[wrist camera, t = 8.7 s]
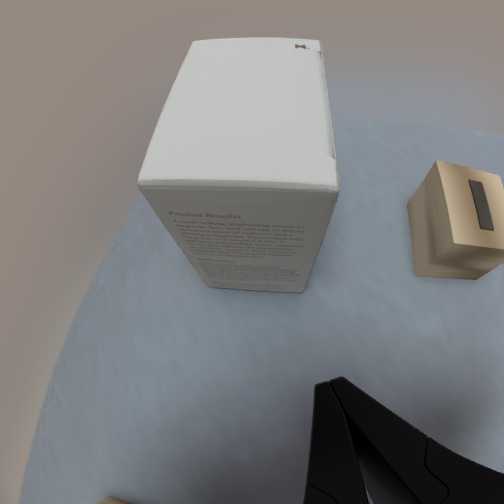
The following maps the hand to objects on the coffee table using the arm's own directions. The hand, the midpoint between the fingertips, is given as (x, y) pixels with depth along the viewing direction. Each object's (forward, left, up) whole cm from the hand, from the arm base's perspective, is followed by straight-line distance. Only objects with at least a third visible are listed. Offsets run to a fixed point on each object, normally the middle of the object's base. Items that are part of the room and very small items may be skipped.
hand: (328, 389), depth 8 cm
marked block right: (-9, -9, -8) cm, 15 cm away
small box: (+3, -9, -8) cm, 12 cm away
